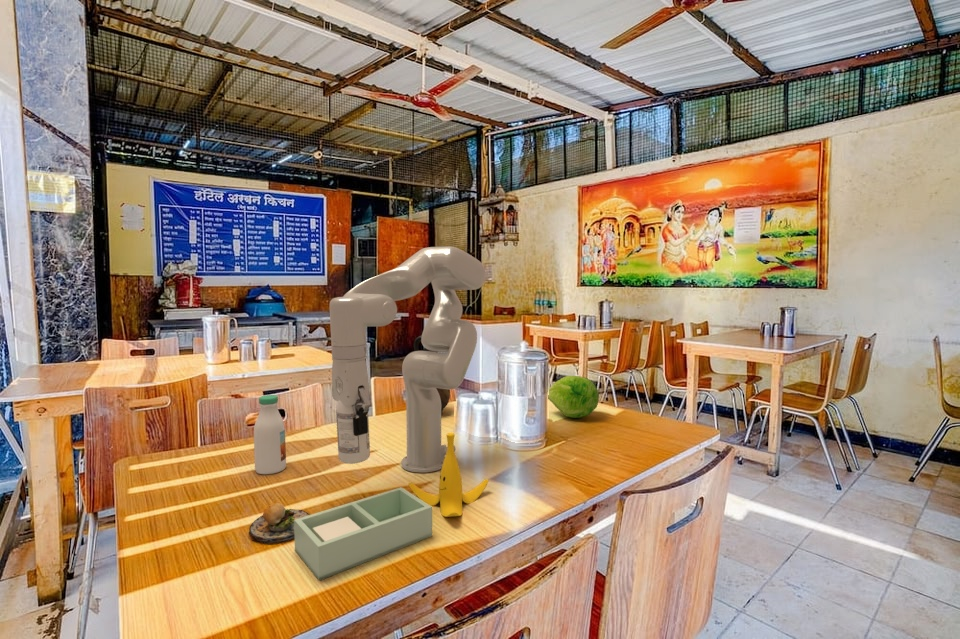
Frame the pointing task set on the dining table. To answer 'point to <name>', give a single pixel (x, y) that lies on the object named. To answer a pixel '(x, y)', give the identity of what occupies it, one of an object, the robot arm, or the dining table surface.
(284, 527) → the burger
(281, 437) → the milk bottle
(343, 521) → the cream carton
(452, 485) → the banana peel
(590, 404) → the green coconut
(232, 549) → the dining table surface
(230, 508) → the dining table surface
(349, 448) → the bath foam
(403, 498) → the box
